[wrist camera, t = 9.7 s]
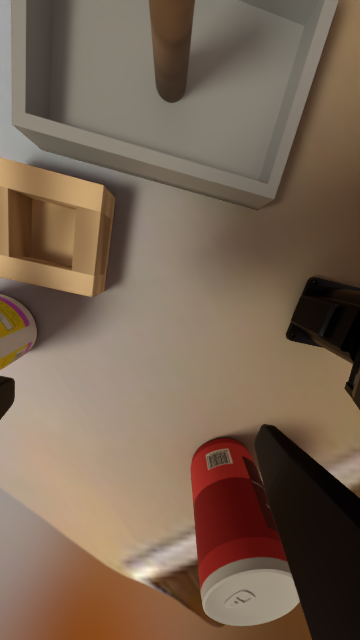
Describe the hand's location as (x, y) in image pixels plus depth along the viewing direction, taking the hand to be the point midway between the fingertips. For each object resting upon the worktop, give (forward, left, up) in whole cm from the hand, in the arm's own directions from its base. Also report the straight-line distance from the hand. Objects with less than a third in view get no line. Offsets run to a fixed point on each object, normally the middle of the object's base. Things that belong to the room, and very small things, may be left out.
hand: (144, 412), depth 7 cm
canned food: (-11, +17, -13) cm, 24 cm away
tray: (+3, -17, -13) cm, 22 cm away
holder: (+10, -5, -13) cm, 17 cm away
